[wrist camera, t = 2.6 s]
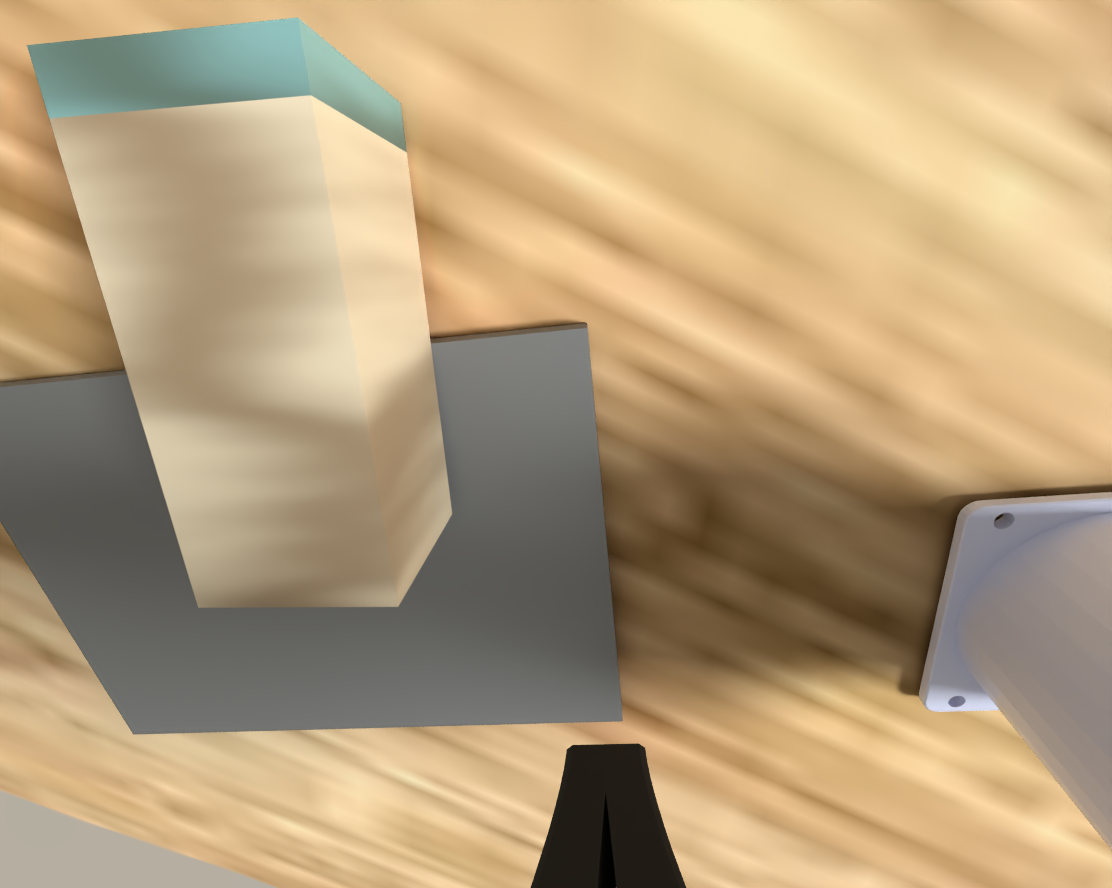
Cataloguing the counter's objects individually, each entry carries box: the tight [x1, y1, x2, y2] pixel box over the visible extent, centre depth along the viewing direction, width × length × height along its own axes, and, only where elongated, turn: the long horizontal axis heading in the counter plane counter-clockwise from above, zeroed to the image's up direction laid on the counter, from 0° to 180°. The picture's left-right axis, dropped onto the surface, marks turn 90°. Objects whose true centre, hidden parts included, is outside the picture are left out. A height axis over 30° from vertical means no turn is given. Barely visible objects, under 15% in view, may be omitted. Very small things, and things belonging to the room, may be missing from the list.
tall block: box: [27, 18, 452, 608], centre depth 12 cm, size 4×4×10 cm
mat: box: [0, 323, 623, 734], centre depth 17 cm, size 19×14×1 cm
